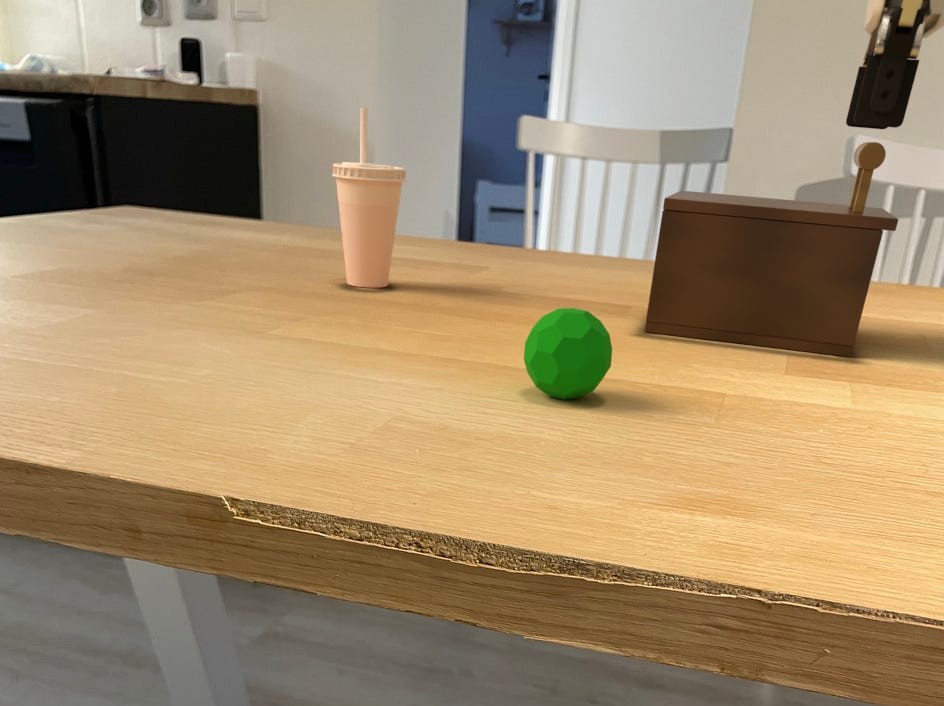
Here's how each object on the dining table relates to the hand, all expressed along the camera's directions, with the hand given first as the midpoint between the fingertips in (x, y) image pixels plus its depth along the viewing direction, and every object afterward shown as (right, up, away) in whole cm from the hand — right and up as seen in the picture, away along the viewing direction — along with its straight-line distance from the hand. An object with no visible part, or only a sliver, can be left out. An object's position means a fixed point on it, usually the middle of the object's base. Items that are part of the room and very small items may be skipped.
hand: (871, 126), depth 70 cm
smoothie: (-39, -6, +17) cm, 43 cm away
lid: (-6, -5, +4) cm, 8 cm away
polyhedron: (-24, -24, -14) cm, 37 cm away
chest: (-7, -12, +9) cm, 16 cm away
